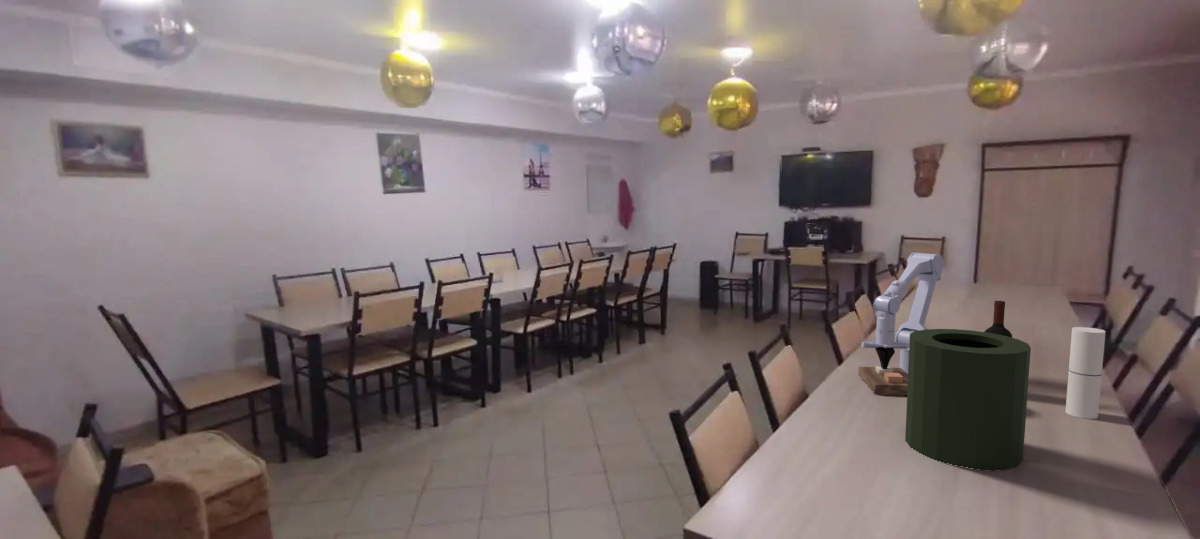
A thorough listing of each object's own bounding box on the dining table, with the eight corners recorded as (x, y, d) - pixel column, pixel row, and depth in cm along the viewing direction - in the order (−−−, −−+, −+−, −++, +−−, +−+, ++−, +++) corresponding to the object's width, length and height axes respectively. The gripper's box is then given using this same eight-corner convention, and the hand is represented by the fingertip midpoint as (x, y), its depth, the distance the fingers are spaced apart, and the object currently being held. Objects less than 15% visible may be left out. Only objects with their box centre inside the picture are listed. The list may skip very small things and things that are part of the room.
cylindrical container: (1069, 416, 159) (1076, 331, 156) (1062, 408, 165) (1068, 326, 162) (1101, 420, 155) (1109, 333, 152) (1093, 411, 162) (1100, 328, 159)
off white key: (888, 375, 195) (888, 366, 194) (892, 379, 191) (892, 370, 190) (875, 375, 196) (875, 366, 195) (878, 379, 191) (879, 370, 191)
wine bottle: (999, 388, 183) (1005, 299, 179) (1014, 396, 175) (1020, 303, 172) (975, 388, 184) (980, 299, 180) (988, 396, 176) (994, 303, 173)
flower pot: (966, 477, 126) (973, 358, 122) (882, 434, 150) (886, 333, 147) (1049, 461, 132) (1058, 347, 129) (956, 422, 156) (961, 325, 153)
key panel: (900, 377, 197) (900, 367, 196) (921, 396, 177) (922, 386, 177) (858, 375, 199) (858, 366, 199) (874, 394, 180) (875, 384, 180)
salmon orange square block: (898, 382, 185) (898, 372, 185) (902, 386, 181) (903, 376, 180) (884, 381, 186) (884, 372, 185) (888, 385, 182) (888, 376, 181)
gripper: (866, 332, 189) (864, 371, 190) (912, 333, 186) (910, 372, 187) (860, 327, 195) (859, 365, 197) (905, 328, 193) (903, 366, 194)
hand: (884, 368), depth 193 cm, fingers closed, pressing on off white key
